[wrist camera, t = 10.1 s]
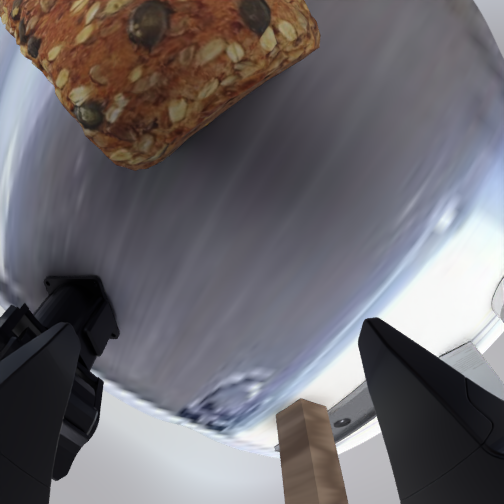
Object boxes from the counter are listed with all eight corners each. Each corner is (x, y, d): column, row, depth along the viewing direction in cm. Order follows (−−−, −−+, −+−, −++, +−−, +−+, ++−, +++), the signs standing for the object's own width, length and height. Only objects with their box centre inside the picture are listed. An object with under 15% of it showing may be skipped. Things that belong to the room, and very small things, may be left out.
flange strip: (309, 450, 36) (310, 457, 35) (274, 446, 34) (275, 454, 33) (415, 373, 28) (419, 381, 27) (384, 363, 26) (388, 372, 25)
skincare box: (431, 375, 29) (466, 442, 18) (439, 354, 27) (481, 427, 16) (464, 358, 28) (501, 419, 17) (472, 337, 26) (516, 400, 15)
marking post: (275, 415, 29) (288, 533, 15) (300, 398, 28) (322, 526, 14) (301, 422, 31) (318, 530, 16) (326, 406, 29) (351, 521, 15)
